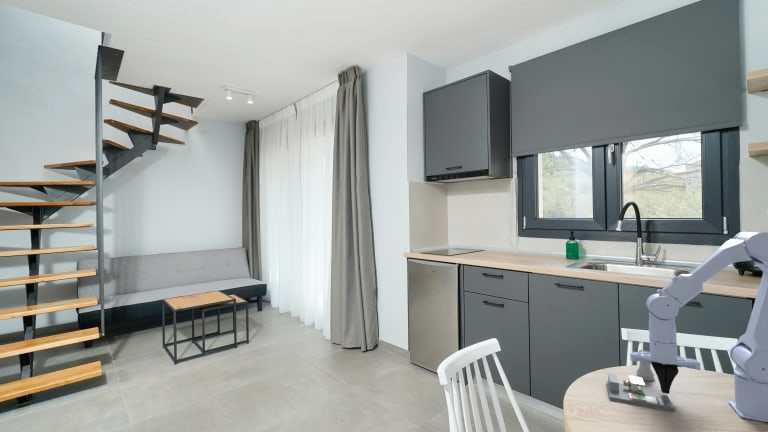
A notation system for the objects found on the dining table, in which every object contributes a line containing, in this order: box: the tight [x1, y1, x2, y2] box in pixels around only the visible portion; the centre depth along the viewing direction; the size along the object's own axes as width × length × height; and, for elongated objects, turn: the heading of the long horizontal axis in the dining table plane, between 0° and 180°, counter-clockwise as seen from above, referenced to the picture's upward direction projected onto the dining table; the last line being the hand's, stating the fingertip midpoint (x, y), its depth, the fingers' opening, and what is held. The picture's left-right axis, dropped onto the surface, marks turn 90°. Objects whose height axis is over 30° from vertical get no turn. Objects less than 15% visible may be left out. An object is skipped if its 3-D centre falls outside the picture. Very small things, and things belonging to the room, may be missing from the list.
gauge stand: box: [606, 372, 676, 413], centre depth 94 cm, size 14×10×3 cm
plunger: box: [622, 375, 646, 394], centre depth 95 cm, size 4×8×2 cm, turn 152°
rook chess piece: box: [635, 349, 655, 382], centre depth 105 cm, size 4×4×8 cm
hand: (665, 391), depth 93 cm, fingers closed
